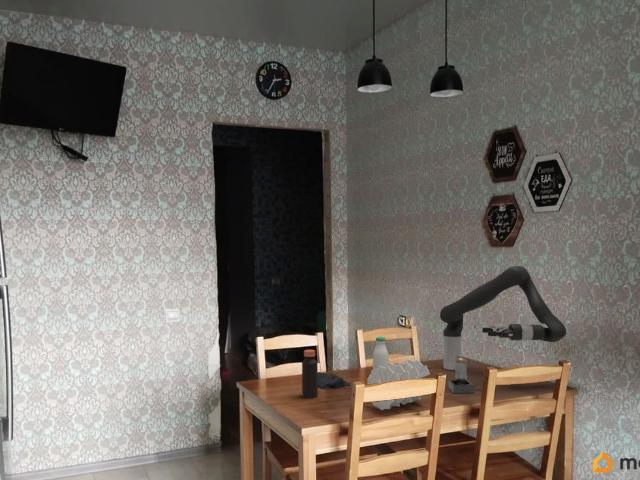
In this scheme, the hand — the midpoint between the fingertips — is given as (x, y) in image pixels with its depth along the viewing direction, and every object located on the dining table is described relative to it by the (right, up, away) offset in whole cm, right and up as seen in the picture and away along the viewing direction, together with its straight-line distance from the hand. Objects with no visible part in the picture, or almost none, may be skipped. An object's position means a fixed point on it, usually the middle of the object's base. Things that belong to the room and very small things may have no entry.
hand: (485, 331), depth 264 cm
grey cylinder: (-12, -25, -4) cm, 28 cm away
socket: (-12, -26, -4) cm, 29 cm away
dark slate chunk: (-73, -27, +11) cm, 78 cm away
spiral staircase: (-44, -26, -26) cm, 58 cm away
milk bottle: (-46, -26, +20) cm, 56 cm away
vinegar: (-80, -27, -12) cm, 85 cm away
